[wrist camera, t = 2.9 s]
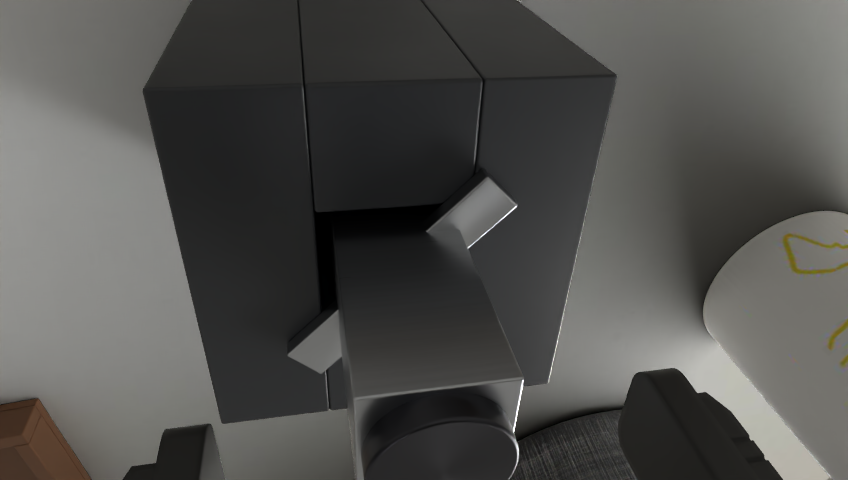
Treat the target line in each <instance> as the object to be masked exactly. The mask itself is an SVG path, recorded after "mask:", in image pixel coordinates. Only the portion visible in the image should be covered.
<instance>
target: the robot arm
mask: <svg viewBox="0 0 848 480" xmlns="http://www.w3.org/2000/svg"><path fill="white" fill-rule="evenodd" d="M618 437H619V442H620V446H621V449H622V451H623V453H624V455H625V457H626V459H627V461H628V463H629V465H630V466H631V468H632V470H633V472H634V474H635V476H636V478H637V479H638V480H783V479H782V478H781V476H780V475H779V474H778V472H777V471H776V470H775V468H774V467H773V466H772V465H771V463H770V462H769V461H768V460H767V461H766V460H765V458H764V454H763V453H762V451H761V450H760V449H759V448H758V446H757V445H756V444H755V442H754V441H753V440H752V441H751V440H750V439H749V434H748V433H747V432H746V431H745V429H744V428H743V427H742V425H741V424H740V423H739V421H738V420H737V419H736V417H735V416H734V415H733V413H732V412H731V411H730V410H728V409H727V408H726V407H724V406H723V405H722V404H721V403H719V402H718V401H717V400H715V399H714V398H713V397H711V396H710V395H709V394H708V393H706V392H703V393H697V392H696V391H695V390H694V388H693V387H692V385H691V384H690V383H689V381H688V380H687V379H686V377H685V376H684V375H683V374H682V373H681V372H680V371H679V370H677V369H675V368H670V369H661V370H653V371H645V372H638V373H636V374H635V375H634V377H633V379H632V382H631V385H630V388H629V391H628V394H627V397H626V400H625V403H624V406H623V409H622V412H621V415H620V418H619V421H618ZM123 480H225V475H224V471H223V467H222V463H221V459H220V455H219V451H218V447H217V443H216V439H215V435H214V431H213V428H212V425H211V424H202V425H194V426H186V427H178V428H170V429H165V430H164V432H163V434H162V437H161V441H160V446H159V451H158V455H157V460H156V463H154V464H146V465H138V466H132V467H131V468H130V470H129V471H128V472H127V474H126V475H125V477H124V478H123Z"/></svg>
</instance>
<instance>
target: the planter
mask: <svg viewBox="0 0 848 480" xmlns="http://www.w3.org/2000/svg"><path fill="white" fill-rule="evenodd" d="M621 412H622V410H613V411H607V412H600V413H595V414H591V415H586V416H582V417H578V418H575V419H571V420H568V421H565V422H562V423H559V424H556V425H553V426H551V427H548V428H546V429H543V430H541V431H538V432H536V433H534V434H532V435H530V436H528V437H525V438H524V439H522V440H520V441H518V442H517V443H518V446H519V458H518V463H517V467H516V469H515V471H514V473H513V474H512V476H511V477H510V479H509V480H638V479H637V478H636V476H635V474H634V472H633V470H632V468H631V466H630V465H629V463H628V461H627V459H626V457H625V455H624V453H623V451H622V449H621V446H620V442H619V437H618V421H619V418H620V415H621Z"/></svg>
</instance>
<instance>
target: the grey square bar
mask: <svg viewBox="0 0 848 480" xmlns="http://www.w3.org/2000/svg"><path fill="white" fill-rule="evenodd" d="M516 207H517V203H516V201H515V199H514V198H513V196H512V195H511V194H510V193H509V192H508V191H507V190H506V189H505V188H504V187H503V186H502V185H501V184H500V183H499V182H498V181H496V180H495V179H494V178H493V177H492V176H491V175H490V174H489V173H488V172H487V171H486V170H485V169H481V170H480V171H479V172H477V173H476V174H475V175H474V176H473V177H472V178H471V179H470V180H469V181H467V182H466V183H465V184H464V185H463V186H462V187H461V188H460V189H459V190H457V191H456V192H455V193H454V194H453V195H452V196H451V197H450V198H449V199H447V200H446V201H445V202H444V203H443V204H437V205H422V206H407V207H392V208H377V209H362V210H348V211H333V212H327V221H328V231H329V240H330V249H331V259H332V268H333V277H334V287H335V296H336V300H335V301H334V302H333V303H332V304H331V305H329V306H328V307H327V308H326V309H325V310H324V311H323V312H322V313H321V314H319V315H318V316H317V317H316V318H315V319H314V320H313V321H312V322H311V323H309V324H308V325H307V326H306V327H305V328H304V329H303V330H302V331H301V332H299V333H298V334H297V335H296V336H295V337H294V338H293V339H292V340H291V341H289V342H288V344H287V355H288V356H289V357H290V358H292V359H294V360H296V361H298V362H299V363H301V364H303V365H305V366H307V367H309V368H311V369H312V370H314V371H316V372H318V373H320V374H322V373H323V372H325V371H326V370H327V369H328V368H329V367H330V366H332V365H333V364H334V363H335V362H336V361H337V360H339V359H340V358H341V357H342V362H343V371H344V380H345V390H346V399H347V408H348V418H349V427H350V436H351V446H352V455H353V465H354V474H355V480H509V479H510V477H511V476H512V474H513V473H514V471H515V469H516V467H517V463H518V458H519V446H518V443H517V440H516V437H515V435H514V429H515V424H516V419H517V413H518V408H519V403H520V398H521V392H522V387H523V382H524V377H523V375H522V372H521V370H520V368H519V365H518V363H517V361H516V359H515V356H514V354H513V352H512V349H511V347H510V345H509V342H508V340H507V338H506V335H505V333H504V331H503V329H502V326H501V324H500V322H499V319H498V317H497V315H496V312H495V310H494V308H493V306H492V303H491V301H490V299H489V296H488V294H487V292H486V289H485V287H484V285H483V283H482V280H481V278H480V276H479V273H478V271H477V269H476V266H475V264H474V262H473V259H472V257H471V255H470V253H469V250H468V248H469V247H470V246H472V245H473V244H474V243H475V242H476V241H478V240H479V239H480V238H481V237H482V236H483V235H485V234H486V233H487V232H488V231H489V230H490V229H492V228H493V227H494V226H495V225H496V224H497V223H499V222H500V221H501V220H502V219H503V218H504V217H506V216H507V215H508V214H509V213H510V212H511V211H513V210H514V209H515V208H516Z"/></svg>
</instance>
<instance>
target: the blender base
mask: <svg viewBox="0 0 848 480" xmlns="http://www.w3.org/2000/svg"><path fill="white" fill-rule="evenodd" d="M616 80H617V75H616V74H615V73H614V72H612V71H611V70H609V69H608V68H607V67H605V66H604V65H603V64H601V63H600V62H599V61H597V60H596V59H595V58H593V57H592V56H591V55H589V54H588V53H587V52H585V51H584V50H583V49H581V48H580V47H579V46H577V45H576V44H574V43H573V42H572V41H570V40H569V39H568V38H566V37H565V36H564V35H562V34H561V33H560V32H558V31H557V30H556V29H554V28H553V27H552V26H550V25H549V24H548V23H546V22H545V21H543V20H542V19H541V18H539V17H538V16H537V15H535V14H534V13H533V12H531V11H530V10H529V9H527V8H526V7H525V6H523V5H522V4H521V3H519V2H518V1H517V0H192V1H191V2H190V4H189V6H188V8H187V10H186V12H185V13H184V15H183V17H182V19H181V21H180V23H179V24H178V26H177V28H176V30H175V32H174V34H173V35H172V37H171V39H170V41H169V43H168V44H167V46H166V48H165V50H164V52H163V54H162V55H161V57H160V59H159V61H158V63H157V65H156V66H155V68H154V70H153V72H152V74H151V75H150V77H149V79H148V81H147V83H146V85H145V86H144V88H143V95H144V100H145V104H146V108H147V112H148V116H149V121H150V125H151V129H152V133H153V137H154V142H155V146H156V150H157V154H158V158H159V163H160V167H161V171H162V175H163V179H164V184H165V188H166V192H167V196H168V200H169V205H170V209H171V213H172V217H173V221H174V226H175V230H176V234H177V238H178V242H179V247H180V251H181V255H182V259H183V263H184V268H185V272H186V276H187V280H188V284H189V288H190V293H191V297H192V301H193V305H194V309H195V314H196V318H197V322H198V326H199V330H200V335H201V339H202V343H203V347H204V351H205V356H206V360H207V364H208V368H209V372H210V377H211V381H212V385H213V389H214V393H215V398H216V402H217V406H218V410H219V414H220V419H221V422H222V424H227V423H235V422H243V421H251V420H259V419H267V418H275V417H282V416H290V415H298V414H306V413H314V412H322V411H328V410H329V408H330V409H331V410H338V409H346V408H347V399H346V390H345V380H344V371H343V362H342V357H341V358H340V359H339V360H337V361H336V362H335V363H334V364H333V365H332V366H330V367H329V368H328V369H327V370H326V371H325V372H323V373H322V374H320V373H318V372H316V371H314V370H312V369H311V368H309V367H307V366H305V365H303V364H301V363H299V362H298V361H296V360H294V359H292V358H290V357H289V356H288V355H287V344H288V342H289V341H291V340H292V339H293V338H294V337H295V336H296V335H297V334H298V333H299V332H301V331H302V330H303V329H304V328H305V327H306V326H307V325H308V324H309V323H311V322H312V321H313V320H314V319H315V318H316V317H317V316H318V315H319V314H321V313H322V312H323V311H324V310H325V309H326V308H327V307H328V306H329V305H331V304H332V303H333V302H334V301H335V300H336V296H335V287H334V277H333V268H332V259H331V249H330V240H329V231H328V221H327V212H333V211H348V210H362V209H377V208H392V207H407V206H422V205H437V204H443V203H444V202H445V201H446V200H447V199H449V198H450V197H451V196H452V195H453V194H454V193H455V192H456V191H457V190H459V189H460V188H461V187H462V186H463V185H464V184H465V183H466V182H467V181H469V180H470V179H471V178H472V177H473V176H474V175H475V174H476V173H477V172H479V171H480V170H481V169H485V170H486V171H487V172H488V173H489V174H490V175H491V176H492V177H493V178H494V179H495V180H496V181H498V182H499V183H500V184H501V185H502V186H503V187H504V188H505V189H506V190H507V191H508V192H509V193H510V194H511V195H512V196H513V198H514V199H515V201H516V203H517V207H516V208H515V209H514V210H513V211H511V212H510V213H509V214H508V215H507V216H506V217H504V218H503V219H502V220H501V221H500V222H499V223H497V224H496V225H495V226H494V227H493V228H492V229H490V230H489V231H488V232H487V233H486V234H485V235H483V236H482V237H481V238H480V239H479V240H478V241H476V242H475V243H474V244H473V245H472V246H470V247H469V248H468V250H469V253H470V255H471V257H472V259H473V262H474V264H475V266H476V269H477V271H478V273H479V276H480V278H481V280H482V283H483V285H484V287H485V289H486V292H487V294H488V296H489V299H490V301H491V303H492V306H493V308H494V310H495V312H496V315H497V317H498V319H499V322H500V324H501V326H502V329H503V331H504V333H505V335H506V338H507V340H508V342H509V345H510V347H511V349H512V352H513V354H514V356H515V359H516V361H517V363H518V365H519V368H520V370H521V372H522V375H523V377H524V382H523V386H531V385H539V384H547V383H549V379H550V374H551V370H552V365H553V361H554V356H555V352H556V347H557V343H558V339H559V334H560V330H561V325H562V321H563V316H564V312H565V307H566V303H567V298H568V294H569V289H570V285H571V281H572V276H573V272H574V267H575V263H576V258H577V254H578V249H579V245H580V240H581V236H582V231H583V227H584V223H585V218H586V214H587V209H588V205H589V200H590V196H591V191H592V187H593V182H594V178H595V174H596V169H597V165H598V160H599V156H600V151H601V147H602V142H603V138H604V133H605V129H606V124H607V120H608V116H609V111H610V107H611V102H612V98H613V93H614V89H615V84H616Z"/></svg>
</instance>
